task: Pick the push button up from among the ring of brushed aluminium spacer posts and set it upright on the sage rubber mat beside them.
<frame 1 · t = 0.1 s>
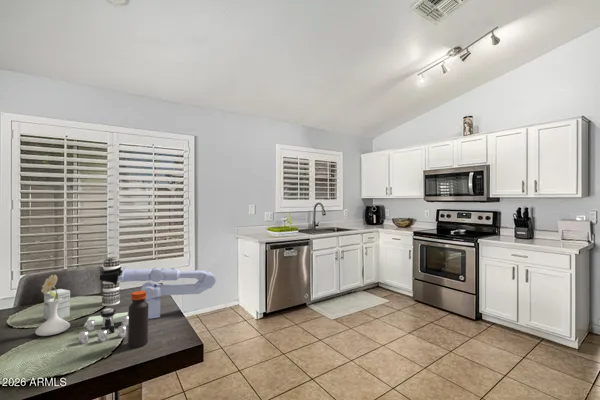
hand: (101, 275, 135), 22 cm above the table, tool horizontal, fingers open, 7 cm apart
bottle: (138, 344, 115), on the table
sage mat: (107, 319, 138), on the table
decorative candle: (111, 303, 161), on the table
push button: (105, 333, 124), on the table
supplement box: (56, 318, 140), on the table
flower in vase: (53, 333, 123), on the table
spacer posts: (105, 333, 124), on the table
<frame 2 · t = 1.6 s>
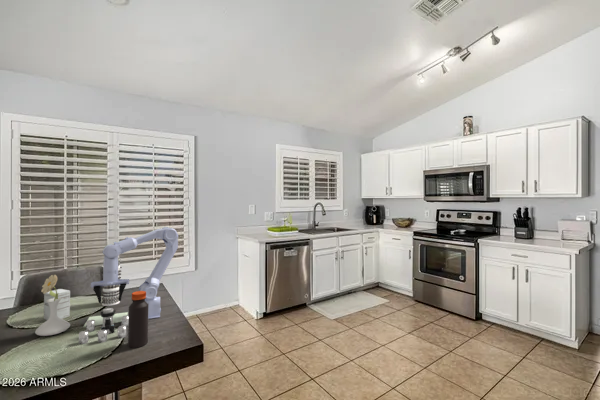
hand: (110, 301, 133), 10 cm above the table, tool pointing down, fingers open, 7 cm apart
nothing on the table moved.
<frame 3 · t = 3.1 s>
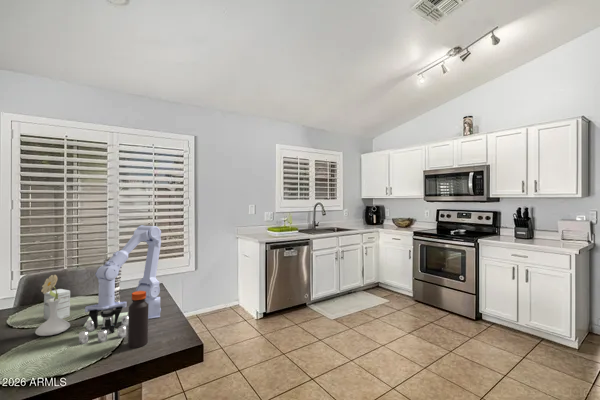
hand: (106, 326, 124), 3 cm above the table, tool pointing down, fingers open, 6 cm apart
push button: (105, 334, 124), on the table, touching gripper
everything else where it was.
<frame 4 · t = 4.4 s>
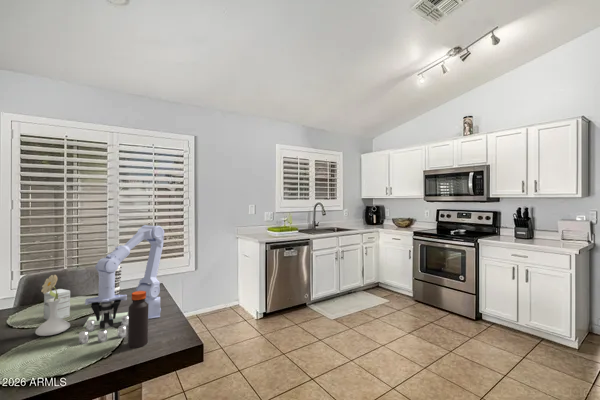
hand: (106, 319, 124), 6 cm above the table, tool pointing down, fingers closed on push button, 5 cm apart
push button: (104, 327, 124), point 3 cm above the table, touching gripper
everything else where it was.
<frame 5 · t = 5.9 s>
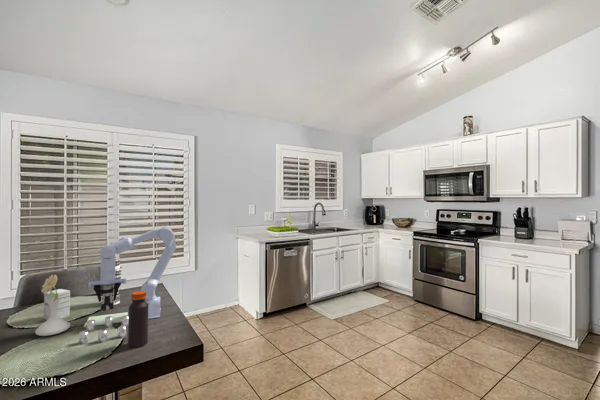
hand: (107, 300, 136), 10 cm above the table, tool pointing down, fingers closed on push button, 5 cm apart
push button: (105, 310, 134), point 6 cm above the table, touching gripper
everything else where it was.
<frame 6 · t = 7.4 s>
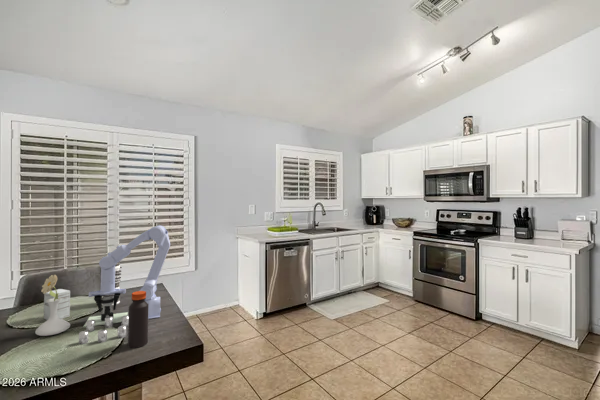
hand: (107, 310, 138), 4 cm above the table, tool pointing down, fingers closed on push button, 5 cm apart
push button: (105, 320, 136), point 1 cm above the table, touching gripper
everything else where it was.
when the fingers open (4 cm above the table, at t = 7.8 s): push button stays where it is, resting on sage mat.
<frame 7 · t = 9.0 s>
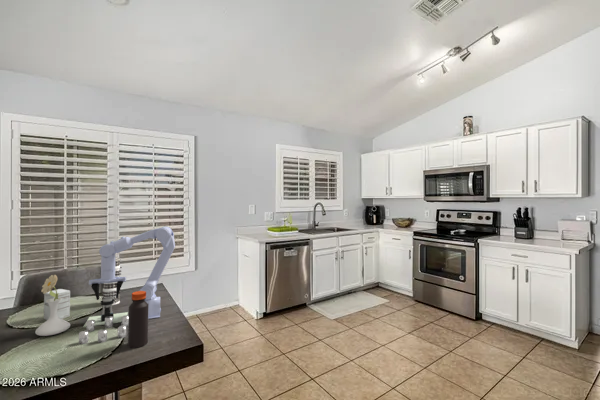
hand: (107, 298, 138), 10 cm above the table, tool pointing down, fingers open, 7 cm apart
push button: (105, 320, 136), resting on sage mat
everything else where it was.
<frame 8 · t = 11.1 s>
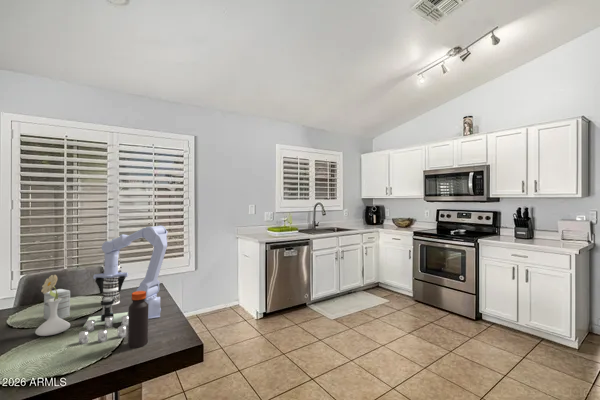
hand: (110, 292, 147), 10 cm above the table, tool pointing down, fingers open, 7 cm apart
nothing on the table moved.
at the end: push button inside the target area on the sage mat (1.8 cm from its centre), point 0.2 cm above the sage mat's base; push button tilted 0°; the gripper is holding nothing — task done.
